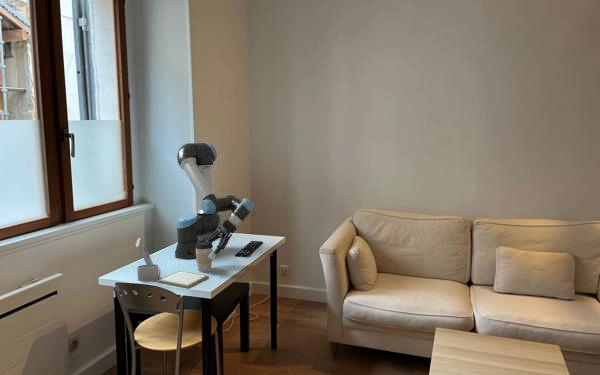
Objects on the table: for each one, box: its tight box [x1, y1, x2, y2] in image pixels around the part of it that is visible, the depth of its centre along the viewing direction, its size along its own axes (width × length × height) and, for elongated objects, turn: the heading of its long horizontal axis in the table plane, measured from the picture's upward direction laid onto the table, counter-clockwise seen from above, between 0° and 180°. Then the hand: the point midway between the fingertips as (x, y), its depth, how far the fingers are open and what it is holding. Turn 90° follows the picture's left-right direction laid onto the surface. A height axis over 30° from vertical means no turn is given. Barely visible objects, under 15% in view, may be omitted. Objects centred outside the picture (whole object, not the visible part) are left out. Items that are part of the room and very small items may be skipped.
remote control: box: [234, 240, 264, 258], centre depth 274 cm, size 8×32×2 cm, turn 169°
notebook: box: [157, 270, 209, 289], centre depth 220 cm, size 18×16×1 cm
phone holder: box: [135, 237, 161, 282], centre depth 227 cm, size 17×10×18 cm, turn 15°
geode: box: [198, 233, 213, 242], centre depth 298 cm, size 20×12×10 cm, turn 158°
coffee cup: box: [195, 241, 214, 273], centre depth 234 cm, size 9×9×15 cm
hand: (205, 255), depth 234 cm, fingers open, 13 cm apart
